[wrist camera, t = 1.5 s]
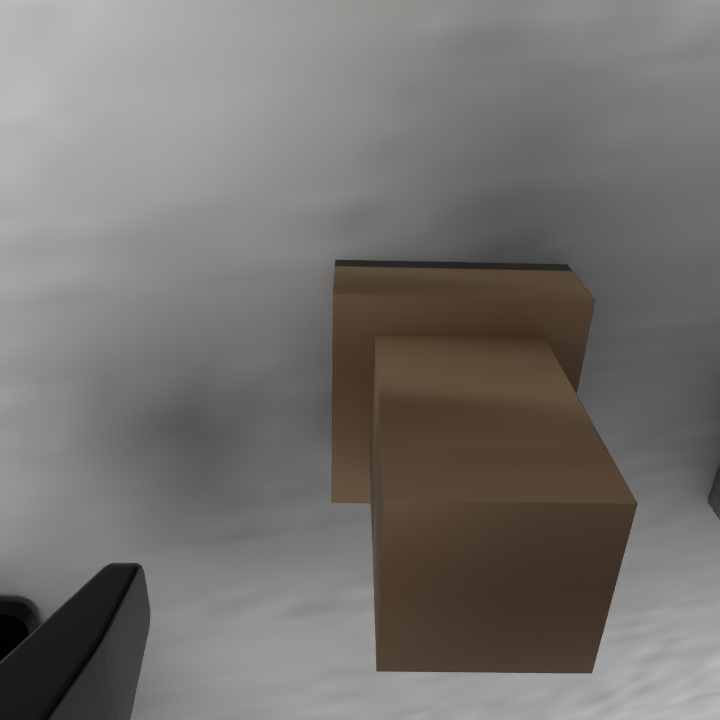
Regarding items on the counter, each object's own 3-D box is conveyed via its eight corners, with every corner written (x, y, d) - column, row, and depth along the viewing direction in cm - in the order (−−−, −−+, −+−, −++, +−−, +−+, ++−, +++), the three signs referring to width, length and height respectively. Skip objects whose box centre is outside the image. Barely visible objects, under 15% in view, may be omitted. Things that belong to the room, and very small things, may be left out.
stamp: (533, 453, 16) (634, 708, 10) (334, 450, 15) (322, 706, 10) (566, 263, 13) (716, 452, 8) (335, 259, 13) (321, 446, 8)
